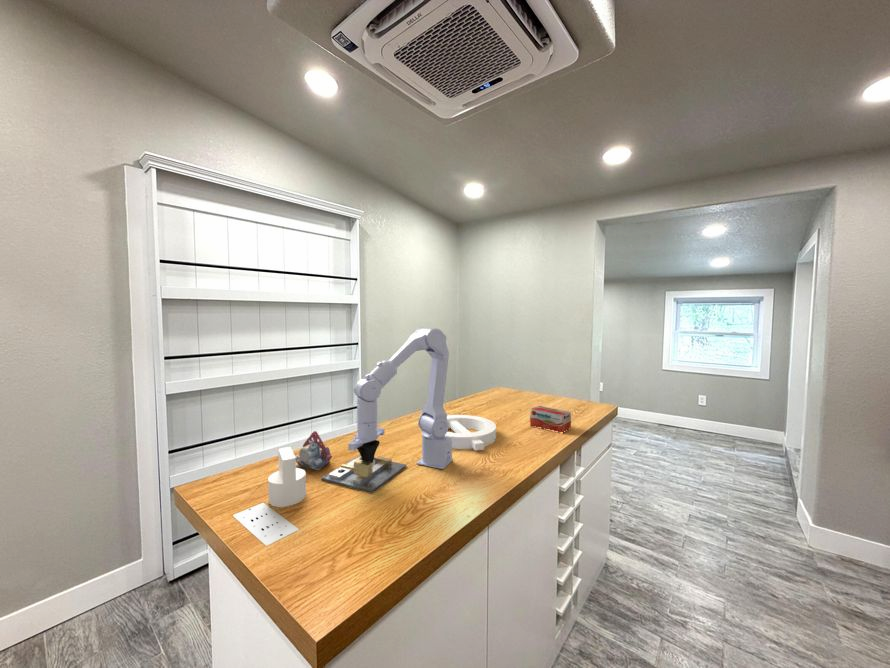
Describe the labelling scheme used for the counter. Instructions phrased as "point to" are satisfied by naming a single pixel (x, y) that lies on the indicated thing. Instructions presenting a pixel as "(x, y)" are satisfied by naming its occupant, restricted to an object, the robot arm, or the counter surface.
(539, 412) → the medicine box
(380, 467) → the grey mechanism base plate
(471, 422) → the white circle with bar
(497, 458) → the counter surface
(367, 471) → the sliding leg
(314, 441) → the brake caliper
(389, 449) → the counter surface
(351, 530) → the counter surface
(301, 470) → the base with upright slab
